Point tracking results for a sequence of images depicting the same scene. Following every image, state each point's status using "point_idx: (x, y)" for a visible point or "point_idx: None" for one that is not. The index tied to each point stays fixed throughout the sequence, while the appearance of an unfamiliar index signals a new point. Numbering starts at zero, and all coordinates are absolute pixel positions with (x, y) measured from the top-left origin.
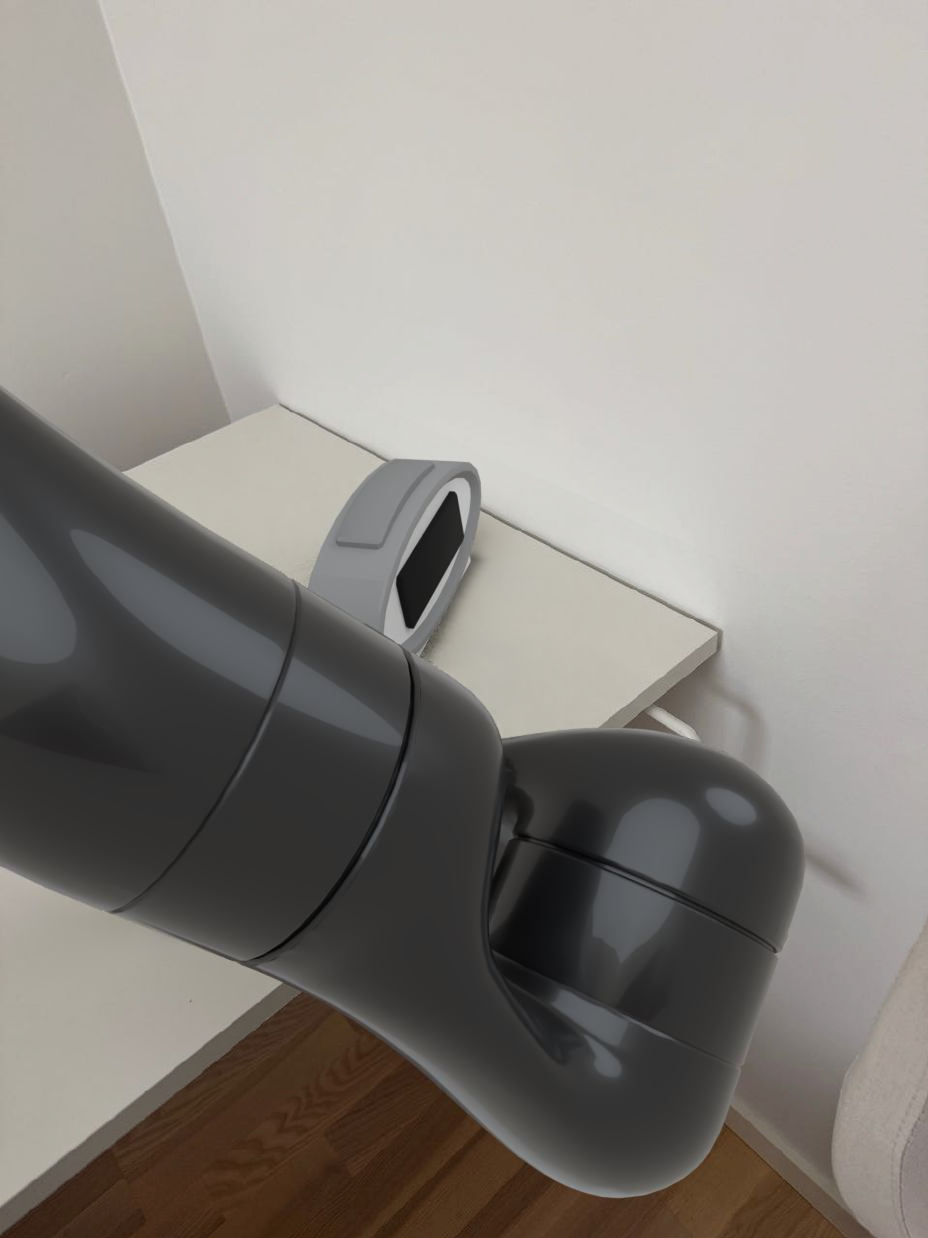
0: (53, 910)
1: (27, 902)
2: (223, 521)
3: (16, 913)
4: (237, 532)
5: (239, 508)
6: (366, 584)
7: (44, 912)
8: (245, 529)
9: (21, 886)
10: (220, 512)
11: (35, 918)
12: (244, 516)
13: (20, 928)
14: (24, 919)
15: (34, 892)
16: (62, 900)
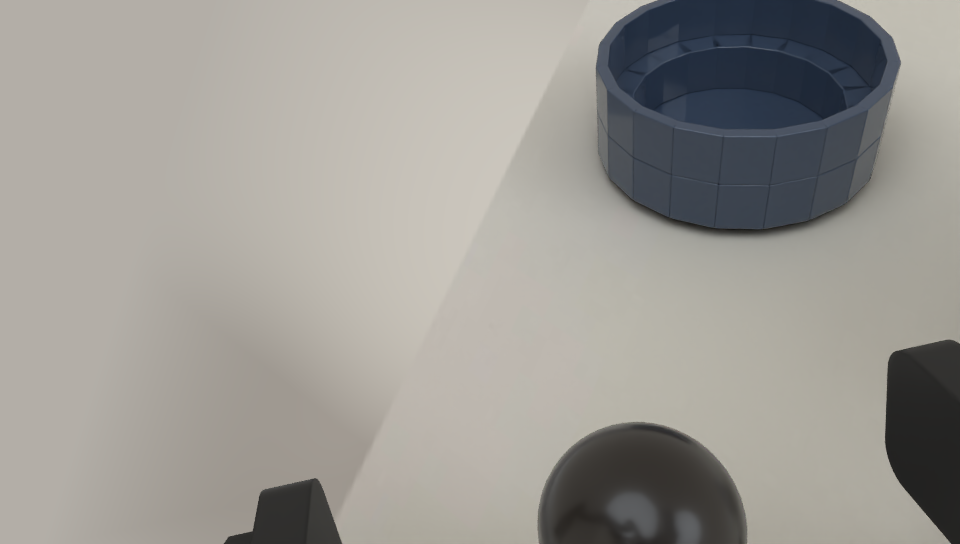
0: (399, 540)
1: (375, 496)
2: (918, 20)
3: (353, 504)
4: (936, 44)
5: (952, 9)
6: None
7: (386, 534)
8: (952, 44)
9: (382, 460)
10: (918, 5)
11: (370, 535)
12: (956, 24)
13: (344, 537)
14: (356, 524)
15: (392, 485)
16: (419, 531)
